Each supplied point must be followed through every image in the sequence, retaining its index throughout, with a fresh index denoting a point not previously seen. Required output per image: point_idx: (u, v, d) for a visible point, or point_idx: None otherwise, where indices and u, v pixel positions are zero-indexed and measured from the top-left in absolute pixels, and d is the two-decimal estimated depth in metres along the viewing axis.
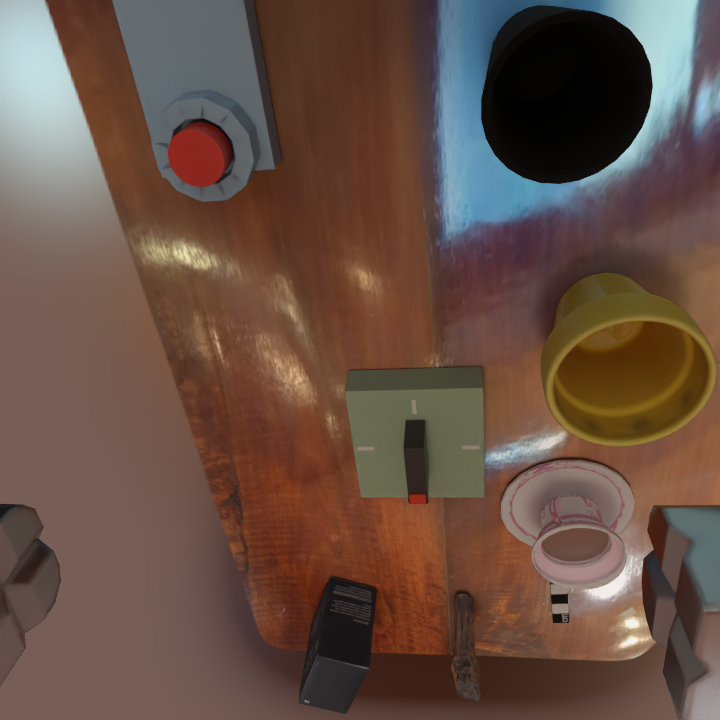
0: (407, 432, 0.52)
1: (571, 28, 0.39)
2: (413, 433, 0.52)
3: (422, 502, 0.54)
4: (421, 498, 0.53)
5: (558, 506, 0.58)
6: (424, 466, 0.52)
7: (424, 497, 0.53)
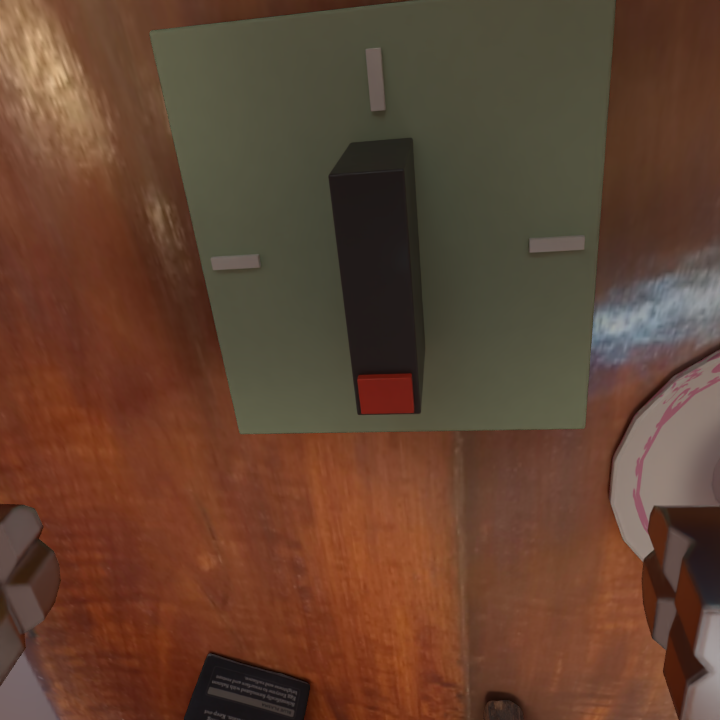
0: (350, 154, 0.15)
1: None
2: (371, 153, 0.15)
3: (401, 406, 0.16)
4: (398, 391, 0.16)
5: None
6: (407, 256, 0.14)
7: (408, 386, 0.16)
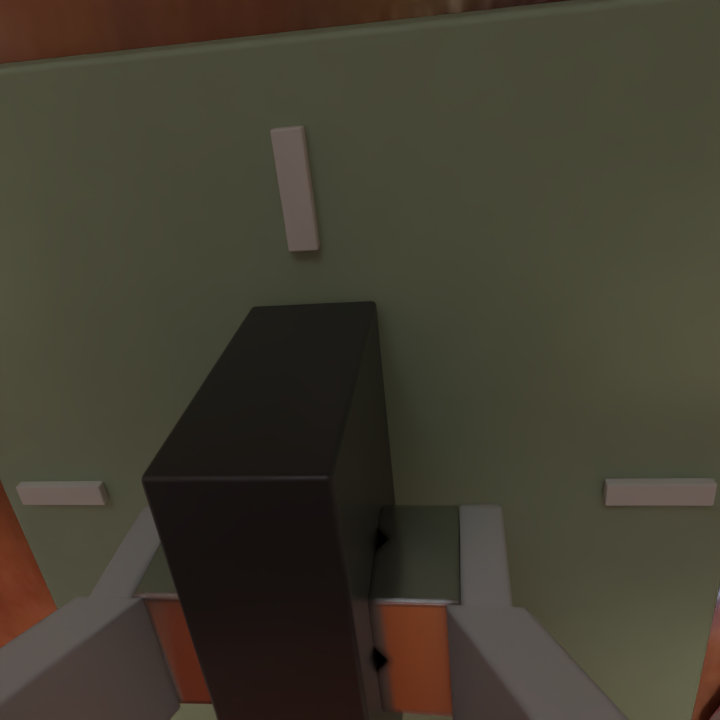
0: (233, 363, 0.07)
1: None
2: (277, 365, 0.07)
3: None
4: None
5: None
6: (350, 641, 0.06)
7: None
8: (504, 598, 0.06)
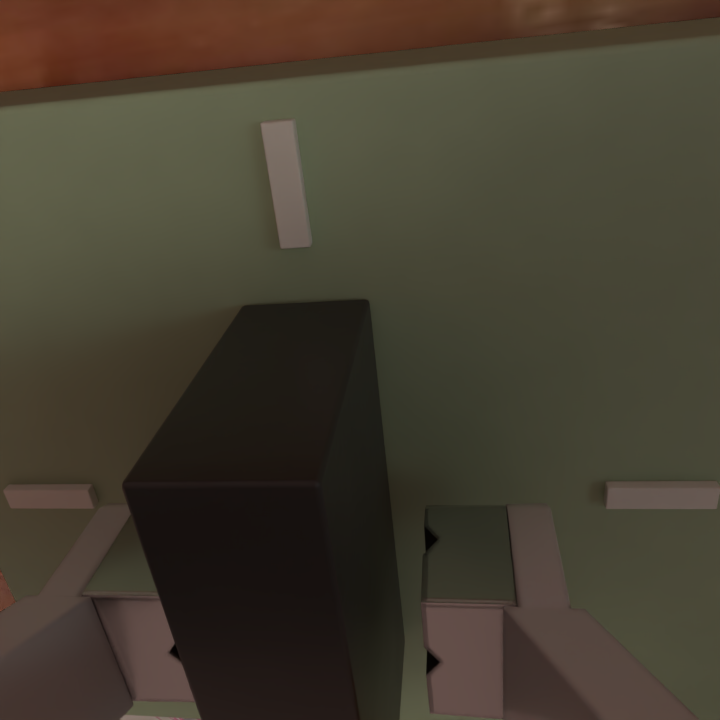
0: (221, 363, 0.07)
1: None
2: (266, 366, 0.07)
3: None
4: None
5: None
6: (341, 652, 0.06)
7: None
8: (561, 599, 0.06)
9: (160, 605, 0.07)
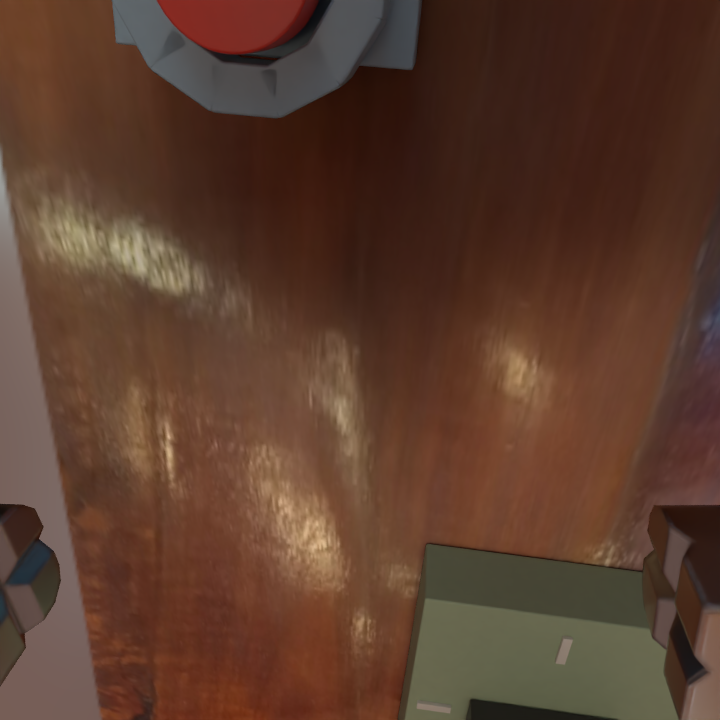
0: None
1: None
2: None
3: None
4: None
5: None
6: None
7: None
8: None
9: None
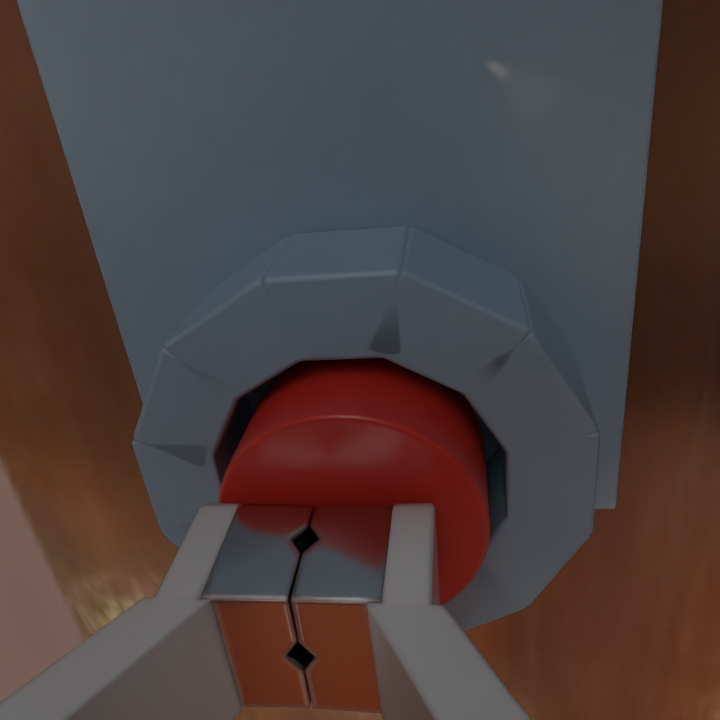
0: None
1: None
2: None
3: None
4: None
5: None
6: None
7: None
8: (424, 596, 0.07)
9: (283, 608, 0.07)
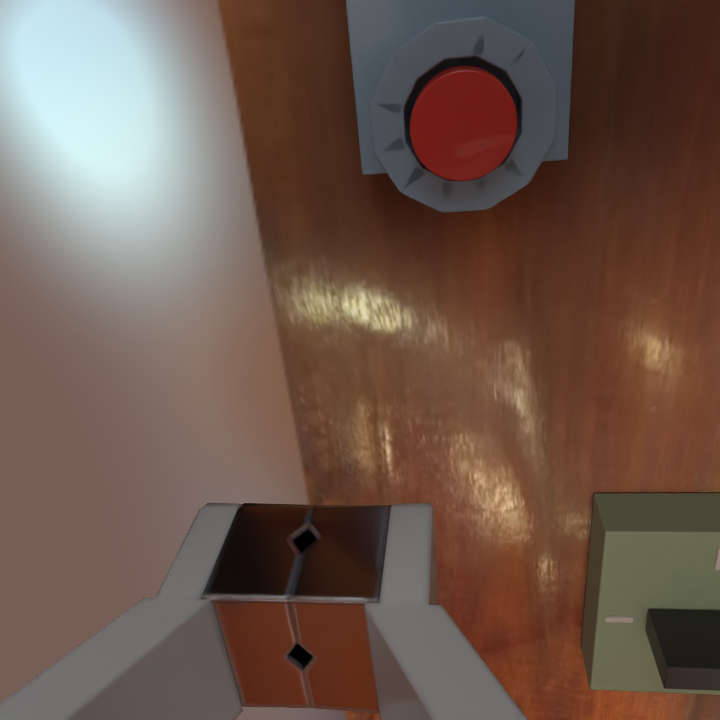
0: (653, 651, 0.34)
1: None
2: (654, 646, 0.33)
3: None
4: None
5: None
6: (709, 668, 0.31)
7: None
8: (422, 597, 0.07)
9: (284, 608, 0.07)
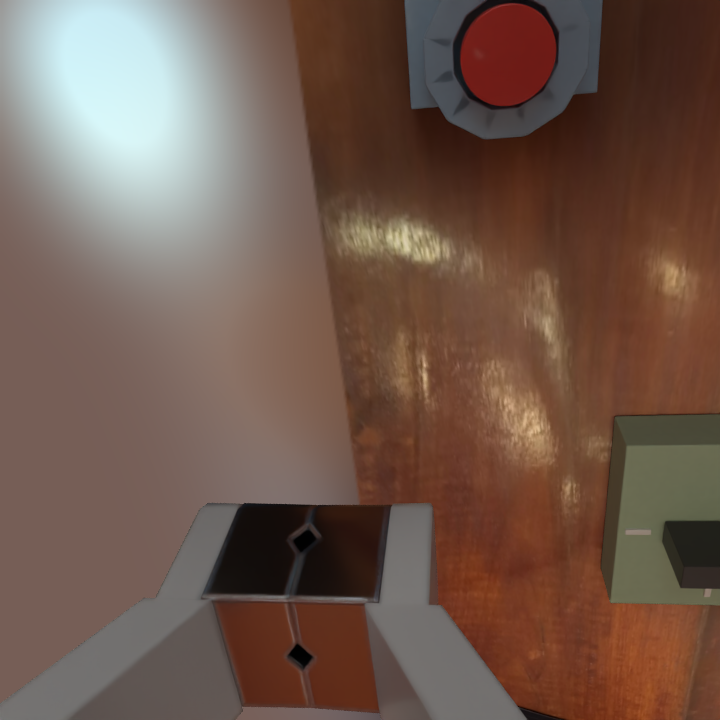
0: (670, 558, 0.37)
1: None
2: (671, 553, 0.37)
3: None
4: None
5: None
6: None
7: None
8: (422, 596, 0.07)
9: (284, 608, 0.07)
